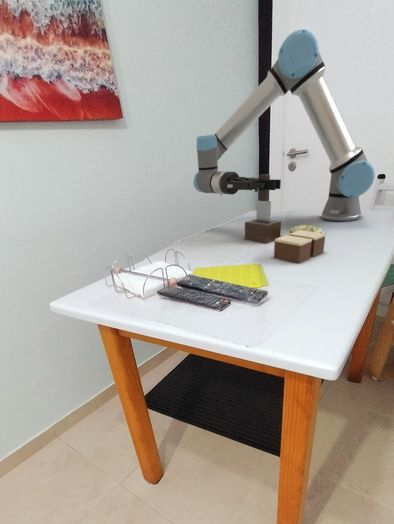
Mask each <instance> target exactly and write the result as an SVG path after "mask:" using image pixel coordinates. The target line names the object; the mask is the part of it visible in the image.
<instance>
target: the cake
mask: <svg viewBox="0 0 394 524" xmlns="http://www.w3.org/2000/svg"><path fill="white" fill-rule="evenodd" d="M288 235H289V236H295V237H301V238H307V239H312V241H311V251H310V258H315V257H316V256H318V255H319V256H320V255H321V254H324V249H325V242H326V233H322V232H321V233H316V232H309V231H303V230H299V231H296V232H293V233H291V234H290V233H289V234H288Z"/></svg>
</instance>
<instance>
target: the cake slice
mask: <svg viewBox="0 0 394 524" xmlns="http://www.w3.org/2000/svg"><path fill="white" fill-rule="evenodd" d="M311 241H312V239H307V238H301V237H295V236H289V234H285V235H282V236H280V237H279V238H277V239H275V240H274V248H273V259H277V260H282V261H286V262H290V263H295V264H301V263H302V262H306V261H307V260H309V259H311V257H310V251H311Z"/></svg>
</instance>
